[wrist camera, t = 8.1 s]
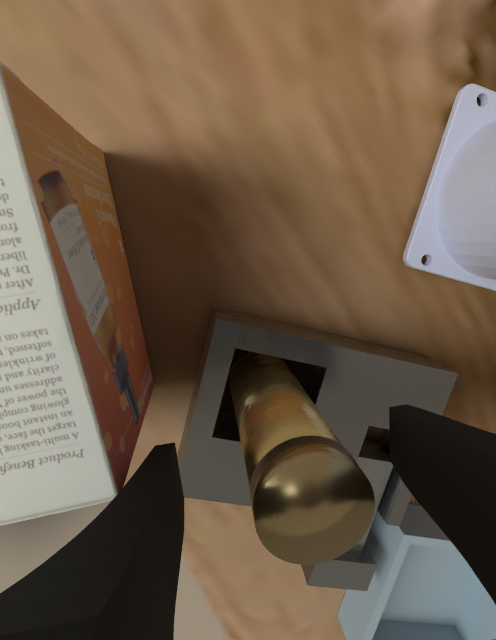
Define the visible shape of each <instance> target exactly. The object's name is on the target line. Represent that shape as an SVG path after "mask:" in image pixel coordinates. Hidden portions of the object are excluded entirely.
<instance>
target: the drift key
mask: <svg viewBox="0 0 496 640" xmlns="http://www.w3.org/2000/svg"><path fill="white" fill-rule="evenodd" d="M356 463H357V464H358V465H359V467H360V468H361V470H362V471H363V473H364V474H365V475H366V477H367V478H368V480H369V481H370V483H371V485H372V488H373V491H374V496H375V510H374V515H373V519H374V517H375V514H376V511H377V509H378V506H379V503H380V500H381V498H382V495H383V492H384V490H385V487H386V484H387V481H388V479H389V476H390V473H391V471H392V468H393V465H392V463H391V461H390V457H389V456H388V455H387V454H386V453H385V452H384V450H383V449H382V448H381V447H380V446H379V445H378V443H377V442H376V441H375V440H370V439H364V441H363V444H362V447H361V450H360V453H359V456H358V459H357V462H356ZM373 519H372V521H371V524H370V526H369V528H368V530H367V531H366V533H365V534H364V536H363V537H362V538H361V540H360V541H359V542H358V543H357V544H356V545H355V546H354V547H352V548H351V549H350V550H349V551H347V552H346V553H344V554H343V555H341V556H339V557H337V558H335V559H332V560H330V561H327V562H323V563H318V564H310V565H303V564H301V566H302V569H303V572H304V575H305V579H306V582H307V585H309V586H319V587H329V588H339V589H349V590H359V591H367V590H368V588H369V585H370V582H371V580H372V577H373V575H374V572H375V569H376V567H377V564H376V562H375V560H374V558H373V556H372V554H371V552H370V551H369V549H368V547H367V545H366V543H365V541H366V538H367V536H368V533H369V530H370V528H371V525H372V522H373Z"/></svg>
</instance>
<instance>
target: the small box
mask: <svg viewBox="0 0 496 640" xmlns="http://www.w3.org/2000/svg"><path fill="white" fill-rule="evenodd" d="M154 384H155V383H154V379H153V375H152V370H151V366H150V362H149V357H148V353H147V348H146V344H145V339H144V335H143V330H142V326H141V321H140V316H139V312H138V308H137V303H136V298H135V294H134V289H133V285H132V280H131V276H130V271H129V267H128V262H127V258H126V253H125V249H124V244H123V239H122V235H121V231H120V226H119V222H118V217H117V213H116V208H115V203H114V199H113V195H112V191H111V186H110V182H109V177H108V172H107V168H106V164H105V159H104V155H103V152H102V150H101V149H99V148H98V147H96V146H95V145H93V144H92V143H91V142H89V141H88V140H87V139H85V138H84V137H83V136H82V135H81V134H80V133H79V132H77V131H76V130H75V129H74V128H73V127H72V126H71V125H70V124H68V123H67V122H66V121H65V120H64V119H63V118H62V117H61V116H59V115H58V114H57V113H56V112H55V111H54V110H53V109H52V108H51V107H49V106H48V105H47V104H46V103H45V102H44V101H43V100H41V99H40V98H39V97H38V96H37V95H36V94H35V93H33V92H32V91H31V90H30V89H29V88H28V87H27V86H26V85H25V84H24V83H22V81H21V80H20V78H19V77H18V76H17V75H16V74H15V73H14V72H13V71H12V70H10V69H9V68H8V67H7V66H6V65H5V64H3V63H2V62H1V61H0V526H1V525H5V524H10V523H14V522H19V521H24V520H28V519H32V518H37V517H41V516H46V515H50V514H55V513H59V512H64V511H69V510H74V509H78V508H82V507H87V506H91V505H95V504H99V503H103V502H107V501H111V500H113V499H114V498H115V497H116V495H117V494H118V493H119V492H120V491H121V490H122V489H123V486H124V483H125V479H126V476H127V473H128V469H129V466H130V462H131V459H132V456H133V452H134V449H135V446H136V443H137V439H138V436H139V433H140V430H141V426H142V423H143V420H144V416H145V413H146V410H147V407H148V404H149V400H150V397H151V394H152V390H153V387H154Z"/></svg>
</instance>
